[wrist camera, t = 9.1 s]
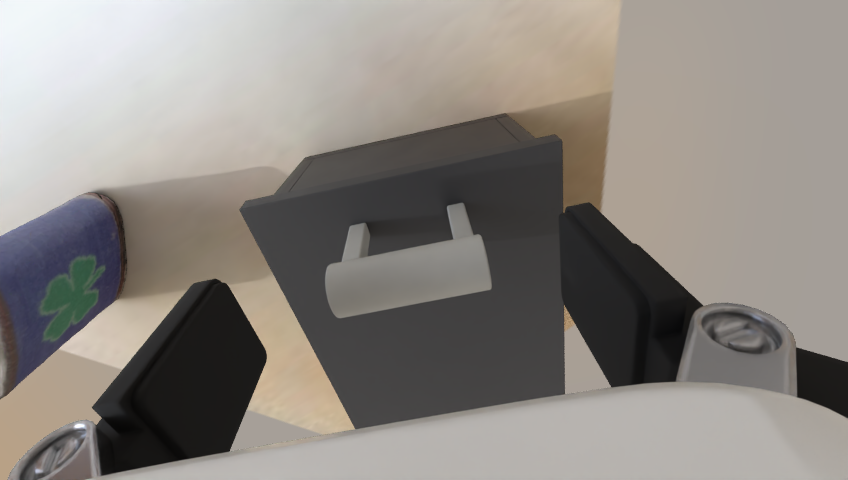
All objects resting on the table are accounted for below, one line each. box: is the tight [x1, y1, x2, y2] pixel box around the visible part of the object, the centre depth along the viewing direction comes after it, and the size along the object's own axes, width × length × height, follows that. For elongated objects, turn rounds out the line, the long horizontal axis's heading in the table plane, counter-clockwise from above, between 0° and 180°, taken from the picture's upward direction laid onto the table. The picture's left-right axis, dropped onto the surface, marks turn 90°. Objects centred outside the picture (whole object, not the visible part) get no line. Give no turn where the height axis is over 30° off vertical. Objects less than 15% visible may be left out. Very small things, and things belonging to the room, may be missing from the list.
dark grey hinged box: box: [274, 114, 536, 195], centre depth 23 cm, size 15×13×8 cm
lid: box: [240, 135, 565, 429], centre depth 17 cm, size 15×13×5 cm
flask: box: [0, 192, 127, 399], centre depth 21 cm, size 9×3×11 cm, turn 159°
